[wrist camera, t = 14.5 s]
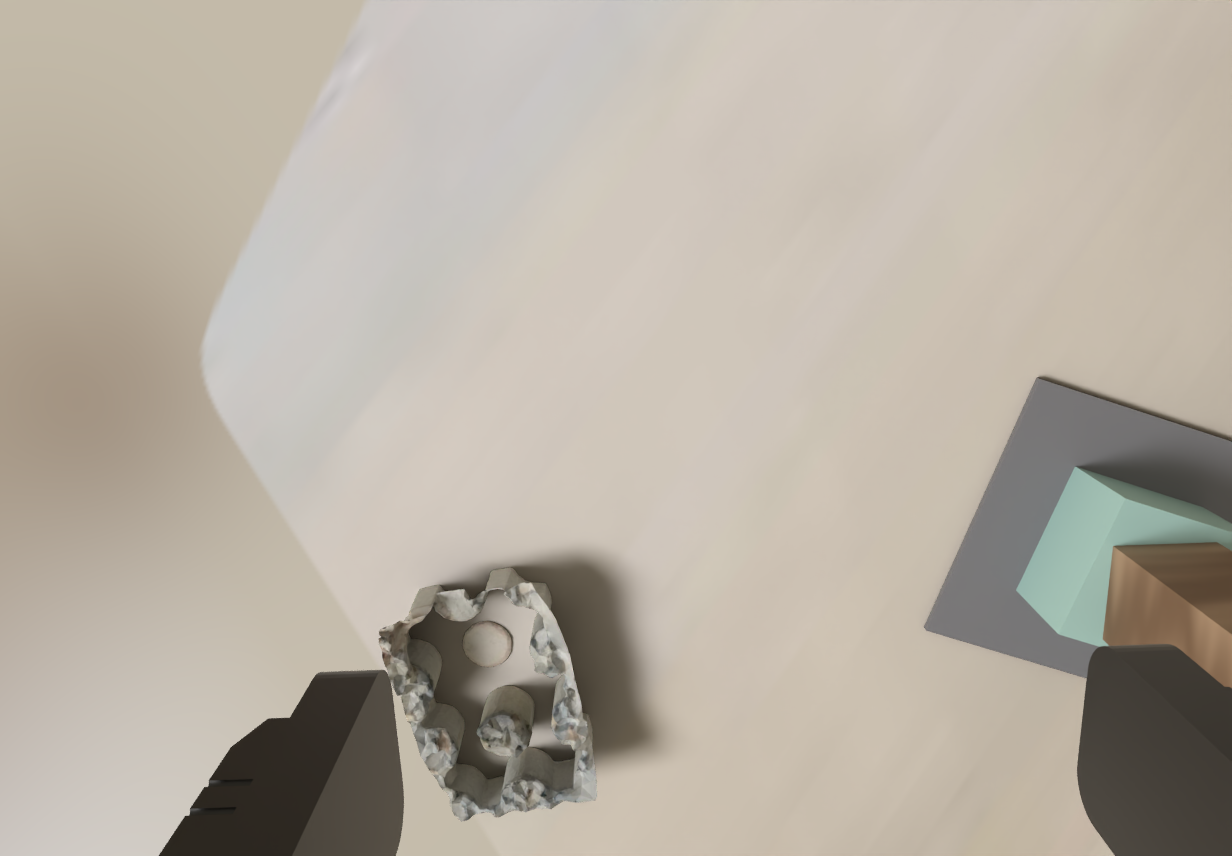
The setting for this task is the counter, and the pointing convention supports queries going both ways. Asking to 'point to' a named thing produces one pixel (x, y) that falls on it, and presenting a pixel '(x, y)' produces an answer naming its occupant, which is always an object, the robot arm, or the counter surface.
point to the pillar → (1174, 601)
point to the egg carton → (493, 704)
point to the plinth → (1103, 547)
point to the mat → (1027, 496)
